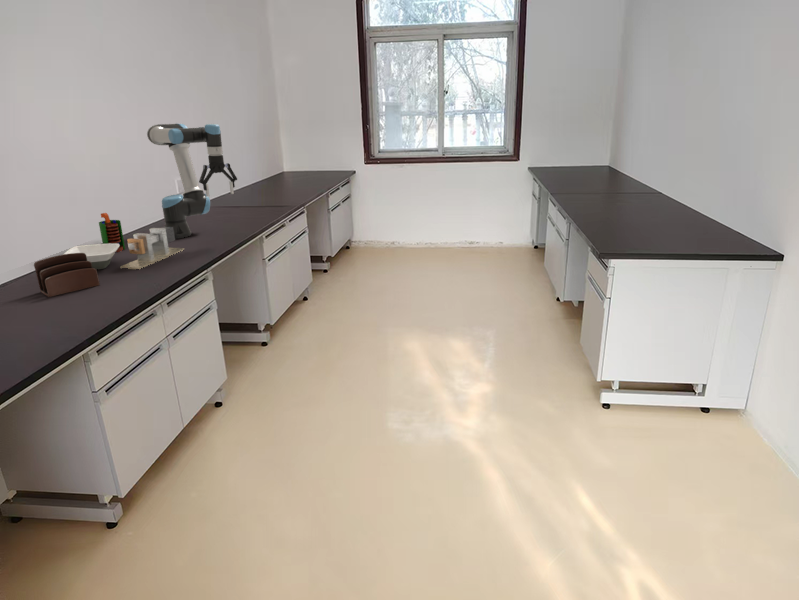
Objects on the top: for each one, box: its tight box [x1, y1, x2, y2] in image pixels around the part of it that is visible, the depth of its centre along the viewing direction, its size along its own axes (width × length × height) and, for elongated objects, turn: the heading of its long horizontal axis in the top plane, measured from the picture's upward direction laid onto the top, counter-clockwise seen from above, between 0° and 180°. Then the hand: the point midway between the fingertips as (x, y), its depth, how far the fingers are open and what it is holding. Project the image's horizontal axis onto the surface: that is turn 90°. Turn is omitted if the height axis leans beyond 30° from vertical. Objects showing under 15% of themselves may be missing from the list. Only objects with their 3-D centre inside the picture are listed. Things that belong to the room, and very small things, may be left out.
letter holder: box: [33, 253, 101, 298], centre depth 225 cm, size 10×20×14 cm, turn 139°
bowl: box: [62, 243, 120, 270], centre depth 256 cm, size 22×23×8 cm
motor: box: [98, 212, 126, 253], centre depth 281 cm, size 10×9×20 cm
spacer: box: [126, 237, 145, 255], centre depth 256 cm, size 7×2×7 cm, turn 77°
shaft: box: [127, 226, 176, 251], centre depth 266 cm, size 5×30×7 cm, turn 167°
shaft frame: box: [120, 227, 185, 270], centre depth 267 cm, size 10×36×14 cm, turn 167°
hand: (220, 195), depth 292 cm, fingers open, 13 cm apart
